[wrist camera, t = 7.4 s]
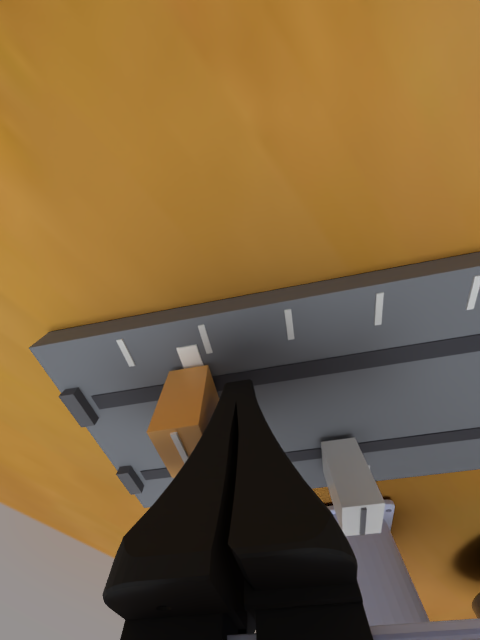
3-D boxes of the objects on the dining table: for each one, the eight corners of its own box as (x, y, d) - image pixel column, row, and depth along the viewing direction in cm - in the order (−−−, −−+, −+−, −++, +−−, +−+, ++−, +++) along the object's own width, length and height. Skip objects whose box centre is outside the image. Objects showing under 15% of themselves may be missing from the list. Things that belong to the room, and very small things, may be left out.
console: (476, 446, 18) (502, 474, 16) (150, 486, 20) (142, 515, 19) (558, 237, 11) (617, 246, 10) (49, 331, 13) (20, 353, 12)
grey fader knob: (354, 467, 16) (381, 534, 13) (322, 470, 16) (343, 538, 13) (355, 437, 15) (386, 505, 12) (321, 441, 15) (343, 510, 12)
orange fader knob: (222, 407, 14) (217, 474, 11) (187, 412, 14) (171, 480, 11) (208, 365, 12) (197, 427, 9) (169, 371, 12) (145, 434, 9)
